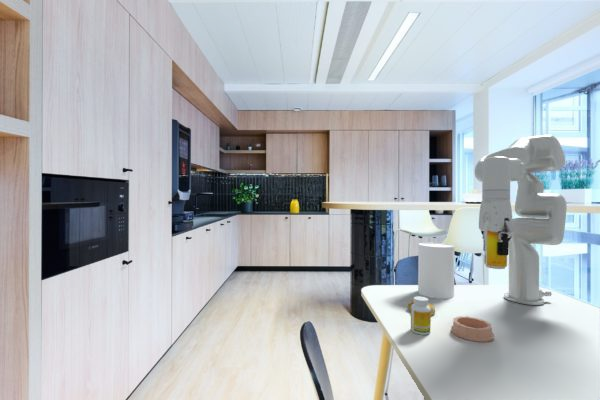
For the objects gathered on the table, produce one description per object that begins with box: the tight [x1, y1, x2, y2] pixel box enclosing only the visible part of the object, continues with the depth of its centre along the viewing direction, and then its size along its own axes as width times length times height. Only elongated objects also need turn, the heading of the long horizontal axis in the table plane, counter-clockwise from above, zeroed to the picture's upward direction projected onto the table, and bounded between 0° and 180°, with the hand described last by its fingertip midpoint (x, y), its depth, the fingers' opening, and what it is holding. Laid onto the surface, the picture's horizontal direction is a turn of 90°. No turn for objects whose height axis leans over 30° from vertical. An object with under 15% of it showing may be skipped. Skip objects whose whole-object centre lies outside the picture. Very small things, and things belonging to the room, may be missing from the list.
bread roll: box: [407, 299, 436, 317], centre depth 107 cm, size 8×9×4 cm
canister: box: [417, 242, 455, 300], centre depth 129 cm, size 14×14×20 cm
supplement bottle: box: [410, 295, 432, 336], centre depth 91 cm, size 5×5×10 cm
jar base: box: [450, 316, 495, 343], centre depth 90 cm, size 11×11×3 cm
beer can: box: [483, 221, 508, 270], centre depth 99 cm, size 6×6×15 cm
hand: (495, 252), depth 99 cm, fingers closed on beer can, 6 cm apart
